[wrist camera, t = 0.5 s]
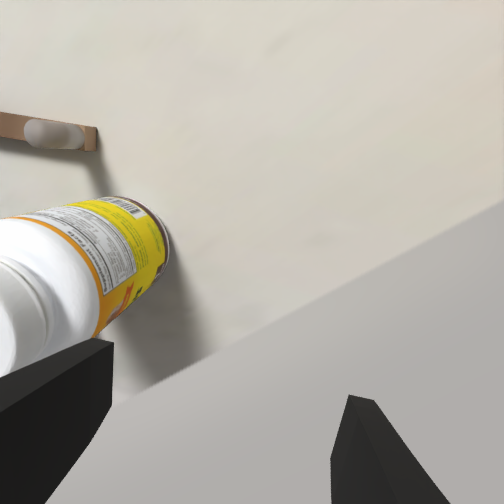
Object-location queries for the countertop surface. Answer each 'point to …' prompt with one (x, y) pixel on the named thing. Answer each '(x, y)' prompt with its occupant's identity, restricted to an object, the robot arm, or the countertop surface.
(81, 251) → the supplement bottle
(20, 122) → the peg frame
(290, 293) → the countertop surface
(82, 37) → the countertop surface
